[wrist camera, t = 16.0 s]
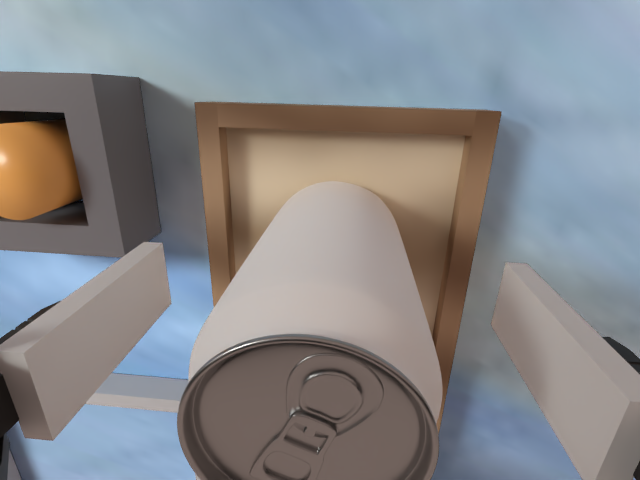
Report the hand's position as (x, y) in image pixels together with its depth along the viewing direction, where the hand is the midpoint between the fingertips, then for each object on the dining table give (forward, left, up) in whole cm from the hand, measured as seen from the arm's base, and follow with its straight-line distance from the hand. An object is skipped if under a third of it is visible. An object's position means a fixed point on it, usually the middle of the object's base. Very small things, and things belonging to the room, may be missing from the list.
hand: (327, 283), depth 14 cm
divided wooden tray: (+7, 0, -6) cm, 9 cm away
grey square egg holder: (-3, -14, -6) cm, 15 cm away
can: (0, 0, -5) cm, 5 cm away
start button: (-3, -14, -5) cm, 15 cm away
